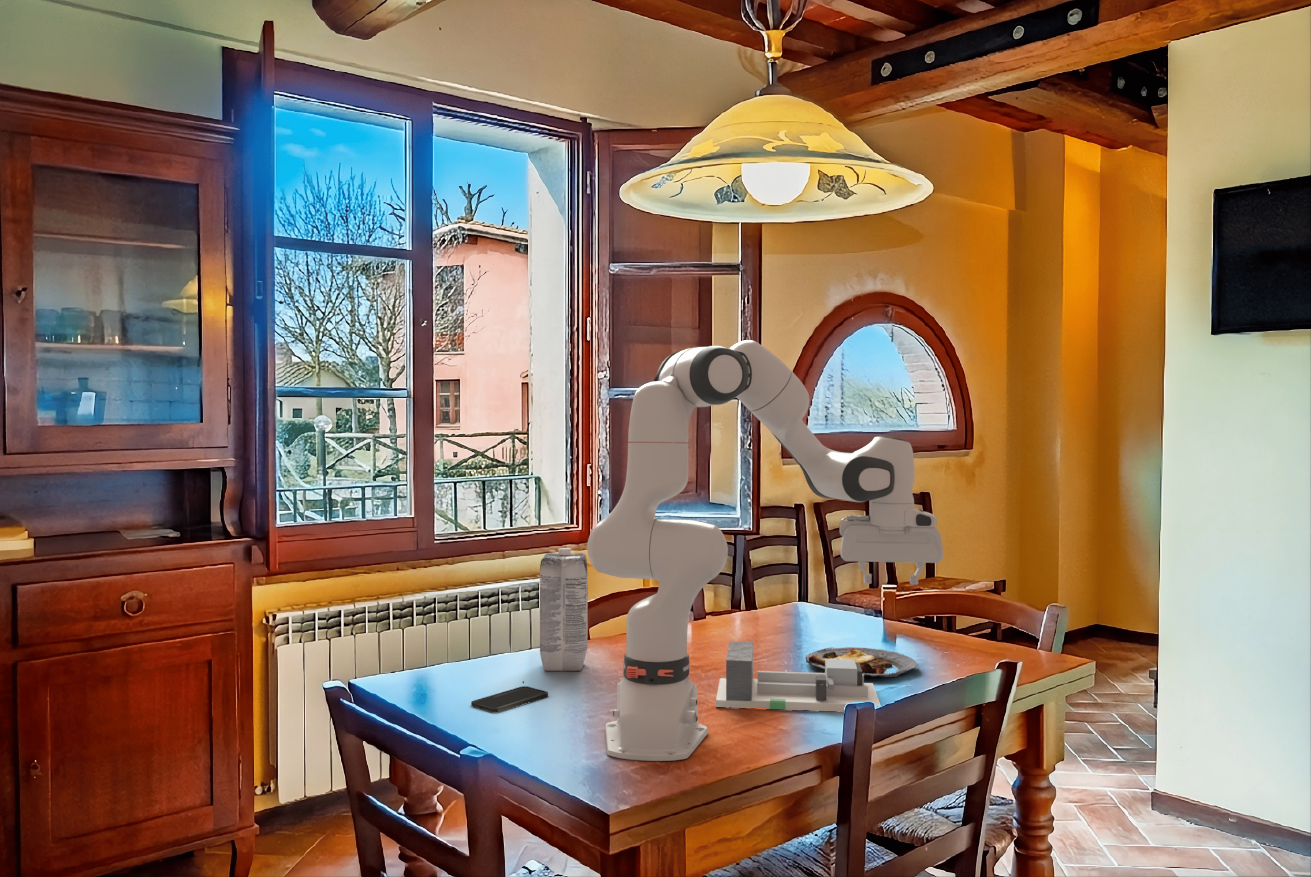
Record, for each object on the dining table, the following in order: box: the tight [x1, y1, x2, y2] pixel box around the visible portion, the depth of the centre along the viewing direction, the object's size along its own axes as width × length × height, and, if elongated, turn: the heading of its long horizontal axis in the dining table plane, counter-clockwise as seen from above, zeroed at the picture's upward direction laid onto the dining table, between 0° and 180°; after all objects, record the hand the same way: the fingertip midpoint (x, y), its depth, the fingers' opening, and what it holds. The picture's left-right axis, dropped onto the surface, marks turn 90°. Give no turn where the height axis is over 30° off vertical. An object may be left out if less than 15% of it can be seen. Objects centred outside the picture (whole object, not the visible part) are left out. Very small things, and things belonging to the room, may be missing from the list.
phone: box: [470, 685, 549, 713], centre depth 201 cm, size 8×1×15 cm
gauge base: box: [715, 670, 882, 713], centre depth 203 cm, size 16×32×4 cm, turn 83°
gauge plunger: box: [824, 659, 862, 690], centre depth 202 cm, size 12×7×5 cm, turn 173°
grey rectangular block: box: [725, 640, 754, 701], centre depth 204 cm, size 16×5×8 cm, turn 173°
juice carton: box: [539, 547, 589, 672], centre depth 227 cm, size 9×10×27 cm
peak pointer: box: [815, 676, 827, 701], centre depth 197 cm, size 5×2×4 cm, turn 173°
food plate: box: [805, 646, 920, 679], centre depth 227 cm, size 25×23×4 cm
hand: (890, 583), depth 203 cm, fingers open, 8 cm apart
